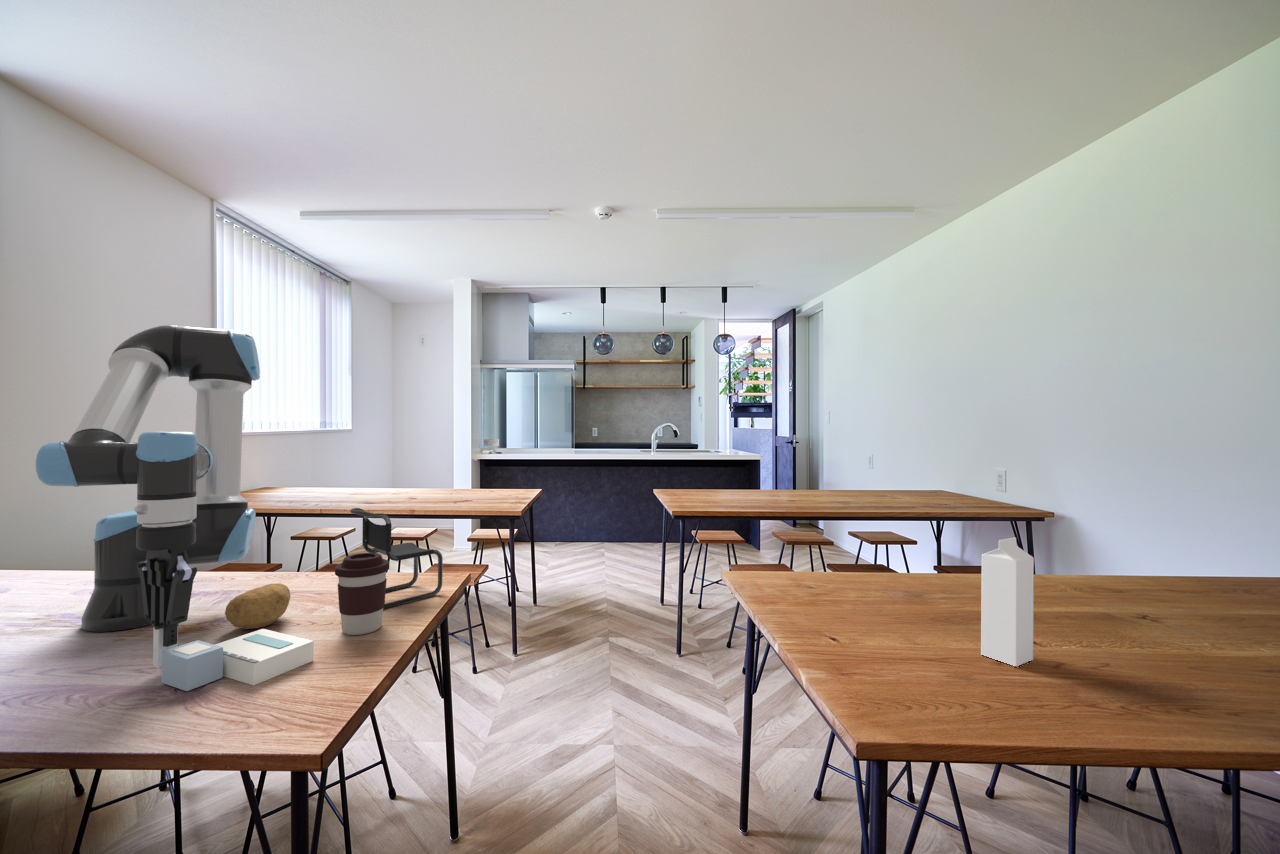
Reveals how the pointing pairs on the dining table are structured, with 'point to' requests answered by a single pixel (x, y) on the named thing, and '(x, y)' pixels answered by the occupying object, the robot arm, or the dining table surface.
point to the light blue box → (192, 665)
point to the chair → (395, 552)
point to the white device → (264, 655)
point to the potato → (258, 606)
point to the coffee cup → (361, 592)
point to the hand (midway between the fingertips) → (165, 663)
